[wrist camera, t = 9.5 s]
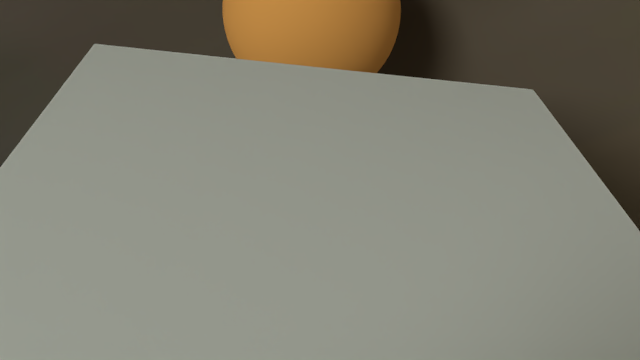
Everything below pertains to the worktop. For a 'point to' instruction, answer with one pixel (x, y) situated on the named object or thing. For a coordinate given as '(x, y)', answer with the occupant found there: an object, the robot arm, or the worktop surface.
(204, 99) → the pale grey cube
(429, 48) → the worktop surface
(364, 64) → the ball
